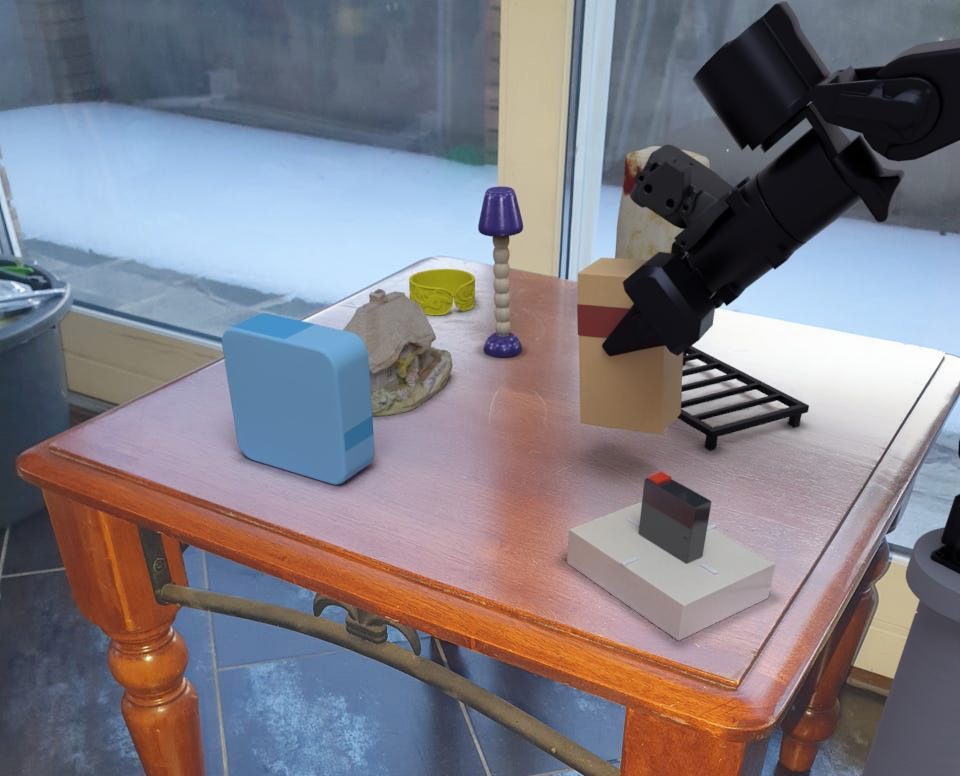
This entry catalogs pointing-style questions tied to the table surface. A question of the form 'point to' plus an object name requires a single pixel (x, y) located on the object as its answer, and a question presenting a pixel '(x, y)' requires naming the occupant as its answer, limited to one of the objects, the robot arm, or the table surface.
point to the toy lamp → (501, 263)
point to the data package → (300, 396)
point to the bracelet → (442, 290)
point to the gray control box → (674, 517)
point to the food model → (643, 215)
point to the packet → (621, 359)
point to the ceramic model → (399, 352)
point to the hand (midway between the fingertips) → (617, 340)
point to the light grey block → (669, 573)
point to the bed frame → (752, 383)
